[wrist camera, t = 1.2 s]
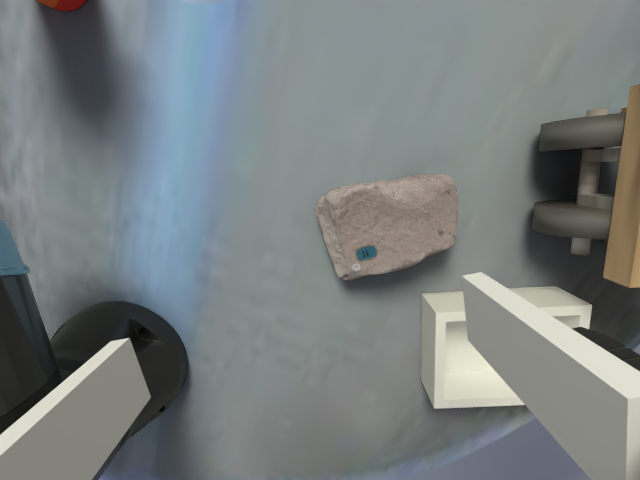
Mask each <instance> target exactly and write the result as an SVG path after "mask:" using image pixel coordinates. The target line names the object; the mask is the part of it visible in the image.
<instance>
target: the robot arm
mask: <svg viewBox="0 0 640 480" xmlns="http://www.w3.org/2000/svg"><path fill="white" fill-rule="evenodd" d="M27 273H30V270H29V267H28V266H27V265H24V263H23V261H22V259H21V256H20V254H19V251H18V249H17V247H16V244H15V242H14V239H13V237H12V235H11V232H10V230H9V228H8V227H7V225H6V224H5V223H4V222H3V221H2V220H0V480H98V479H99V478H100V476H101V475H102V473H103V472H104V470H105V469H106V468H107V466H108V465H109V463H110V462H111V461H112V459H113V458H114V456H115V455H116V453H117V452H118V451H119V449H120V448H121V446H122V445H123V444H124V443H125V441H126V440H127V439H129V438H130V437H131V436H133V435H134V434H135V433H137V432H138V431H139V430H141V429H142V428H143V427H145V426H146V425H147V424H148V423H149V422H150V421H152V420H154V419H155V418H157V417H158V416H159V415H160V414H162V413H163V412H164V411H165V410H166V409H167V408H168V407H169V406H170V405H171V403H172V402H173V400H174V399H175V397H176V396H177V394H178V393H179V391H180V390H181V388H182V386H183V384H184V382H185V378H186V374H187V357H186V352H185V349H184V346H183V344H182V342H181V340H180V338H179V336H178V335H177V333H176V332H175V331H174V329H173V328H172V327H171V326H170V325H169V324H168V323H167V322H166V321H165V320H164V319H163V318H161V317H160V316H159V315H157V314H156V313H154V312H152V311H151V310H149V309H147V308H144V307H142V306H139V305H136V304H132V303H127V302H104V303H100V304H96V305H93V306H91V307H89V308H87V309H85V310H83V311H82V312H80V313H78V314H77V315H75V316H73V317H72V318H70V319H69V320H67V321H66V322H65V323H64V324H63V325H62V326H61V327H60V328H59V329H58V330H57V331H56V333H55V334H54V336H53V337H52V339H51V340H50V341H49V338H48V335H47V333H46V330H45V327H44V324H43V321H42V319H41V316H40V313H39V310H38V307H37V304H36V301H35V298H34V295H33V292H32V289H31V285H30V282H29V279H28V276H27ZM462 286H463V296H464V306H465V316H466V326H467V336H468V341H469V342H470V343H471V344H472V345H473V347H474V348H475V349H476V350H477V351H478V352H479V353H480V354H481V356H482V357H483V358H484V359H485V360H486V361H487V362H488V363H489V365H490V366H491V367H492V368H493V369H494V370H495V371H496V372H497V374H498V375H499V376H500V377H501V378H502V379H503V380H504V382H505V383H506V384H507V385H508V386H509V387H510V388H511V389H512V391H513V392H514V393H515V394H516V395H517V396H518V397H519V398H520V400H521V401H522V402H523V403H524V404H525V405H526V406H527V408H528V409H529V410H530V411H531V412H532V413H533V414H534V415H535V417H536V418H537V419H538V420H539V421H540V422H541V423H542V424H543V425H544V427H545V428H546V429H547V430H548V431H549V432H550V434H551V435H552V436H553V437H554V438H555V439H556V440H557V441H558V443H559V444H560V445H561V446H562V447H563V448H564V449H565V450H566V452H567V453H568V454H569V455H570V456H571V457H572V458H573V459H574V461H576V463H577V464H578V465H579V466H580V467H581V468H582V470H583V471H584V472H585V473H586V474H587V475H588V476H589V477H590V479H591V480H640V355H639V354H637V353H635V352H634V351H632V350H630V349H629V348H627V349H626V348H625V347H624V346H623V345H622V344H620V343H618V342H616V341H615V340H613V339H611V338H609V337H608V336H606V335H604V334H601V333H598V332H595V331H592V330H589V329H586V328H583V327H577V328H570V327H568V326H566V325H565V324H563V323H562V322H560V321H558V320H557V319H555V318H554V317H552V316H550V315H549V314H547V313H546V312H544V311H542V310H541V309H539V308H538V307H536V306H535V305H533V304H531V303H530V302H528V301H527V300H525V299H523V298H522V297H520V296H519V295H517V294H515V293H514V292H512V291H511V290H509V289H507V288H506V287H504V286H503V285H501V284H499V283H498V282H496V281H495V280H493V279H491V278H490V277H488V276H487V275H485V274H484V273H482V272H480V273H475V274H469V275H464V276H462Z"/></svg>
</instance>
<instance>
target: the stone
mask: <svg viewBox="0 0 640 480" xmlns="http://www.w3.org/2000/svg"><path fill="white" fill-rule="evenodd" d="M315 212H316V215H317V218H318V219H319V224H320V227H321V229H322V231H323V238H324V241H325V244H326V246H327V249H328V251H329V254H330V258H331V260H332V261H333V264H334V266H335V270H336V272H337V275H338V277H339V278H340V279H342V280H354V279H357V278H359V277H362V276H367V275H372V274H376V275H377V274H383V273H388V272H392V271H398V270H401V269H404V268H407V267H410V266H413V265H416V264H418V263H419V262H421V261H422V260H423V259H424V258H425V257H427V256H430V255H433V254H435V253H438V252H441V251H444V250H446V249H449V248H450V247H452V246H453V245H454V244H455V234H456V229H457V223H458V196H457V190H456V187H455V184H454V180H453V179H452V178H450V177H449V176H447V175H442V174H433V175H424V174H418V175H412V176H406V177H401V178H399V179H394V180H384V181H376V182H371V183H367V184H366V183H360V184H356V185H354V184H353V185H349V186H344V187H340V188H338V189H336V190H333V191H330V192H328V195H326V196H325V197H320V199H319V201H318V203H317V205H316V208H315Z"/></svg>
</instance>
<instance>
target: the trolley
mask: <svg viewBox="0 0 640 480" xmlns="http://www.w3.org/2000/svg"><path fill="white" fill-rule="evenodd" d="M607 113H608V108H601V109H593V110H588V111H587V115H586V117H582V118H575V119H568V120H561V121H555V122H550V123H545V124H542V125H541V132H540V143H539V151H552V150H568V149H583V150H582V158H581V167H580V175H579V184H578V193H577V199H572V200H550V201H541V202H537V203H535V204H534V212H533V224H532V228H533V229H534V230H535V231H538V232H541V233H545V234H550V235H555V236H562V237H571V238H572V245H571V253H573V254H577V255H589V252H590V244H591V239H604V243H603V244H605V245H608V246H607V253H606V260H605V267H604V274H603V278H606V279H608V280H611V281H613V282H616V283H618V284H621V285H623V286H626V287H628V288H637V287H640V84H639V85H636V86H632V87H630V91H629V98H628V105H627V108H622V113H618V114H608V115H607ZM613 146H622V147H621V148H615V149H603V147H613ZM605 161H619V169H618V176H617V183H616V190H615V195H608V194H598V193H597V190H598V183H599V175H600V167H601V162H605Z"/></svg>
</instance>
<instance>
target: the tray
mask: <svg viewBox="0 0 640 480" xmlns="http://www.w3.org/2000/svg"><path fill="white" fill-rule="evenodd" d="M509 290H511V291H512V292H514V293H515V294H517V295H519V296H520V297H522V298H523V299H525V300H527V301H528V302H530V303H531V304H533V305H535V306H536V307H538V308H539V309H541V310H542V311H544V312H546V313H547V314H549V315H550V316H552V317H554V318H555V319H557V320H558V321H560V322H562V323H563V324H565V325H566V326H568V327H570V328H577V327H583V328H586V329H589V326H590V318H591V311H592V305H591V304H589V303H588V302H586V301H584V300H582V299H580V298H578V297H576V296H574V295H572V294H570V293H568V292H566V291H564V290H562V289H560V288H558V287H557V286H549V287H530V288H511V289H509ZM420 378H421V381H422V383H423V385H424V387H425V390H426V392H427V394H428V396H429V398H430V401H431V403H432V405H433V407H434V409H439V408H463V407H487V406H511V405H525V404H524V403H523V402H522V401H521V400H520V398H519V397H518V396H517V395H516V394H515V393H514V392H513V391H512V389H511V388H510V387H509V386H508V385H507V384H506V383H505V382H504V380H503V379H502V378H501V377H500V376H499V375H498V374H497V372H496V371H495V370H494V369H493V368H492V367H491V366H490V365H489V363H488V362H487V361H486V360H485V359H484V358H483V357H482V356H481V354H480V353H479V352H478V351H477V350H476V349H475V348H474V347H473V345H472V344H471V343H470V342H469V341H468V336H467V326H466V316H465V306H464V296H463V291H454V292H435V293H421V364H420Z"/></svg>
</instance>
